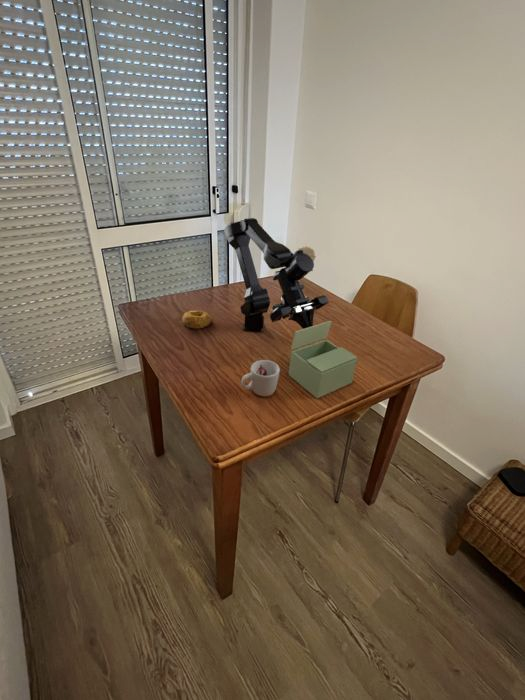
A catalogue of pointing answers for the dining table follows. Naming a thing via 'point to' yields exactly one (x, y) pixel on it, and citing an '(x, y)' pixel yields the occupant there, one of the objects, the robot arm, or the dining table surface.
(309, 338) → the flap
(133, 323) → the dining table surface
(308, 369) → the carton
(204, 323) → the bagel
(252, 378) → the cup
